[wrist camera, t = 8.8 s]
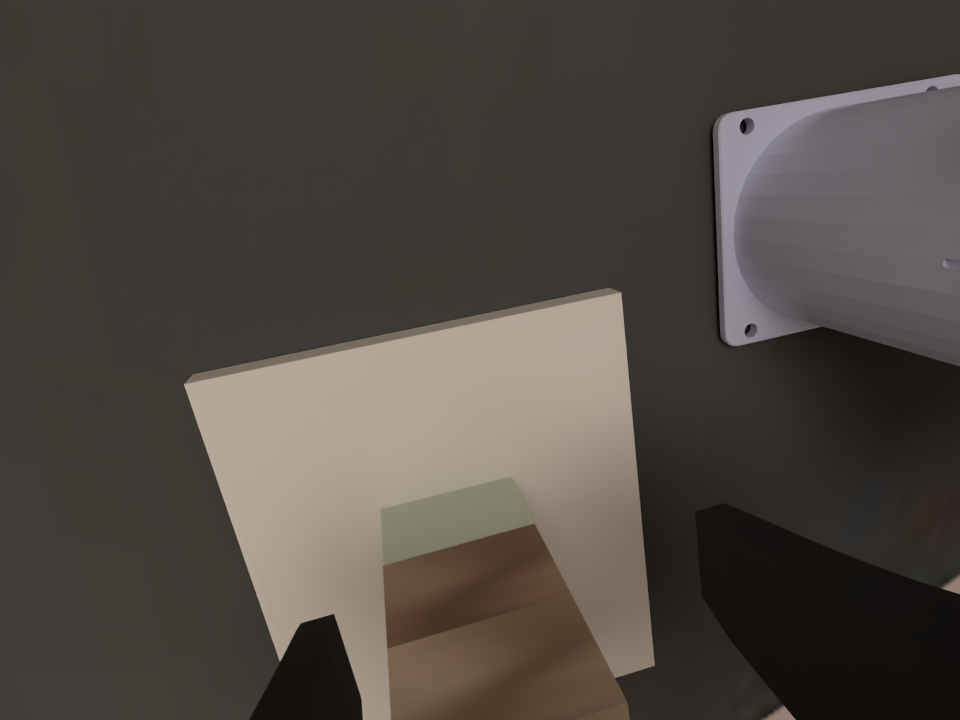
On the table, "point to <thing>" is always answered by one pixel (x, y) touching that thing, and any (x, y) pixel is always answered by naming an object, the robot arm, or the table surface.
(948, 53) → the table surface
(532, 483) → the board
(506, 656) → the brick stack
